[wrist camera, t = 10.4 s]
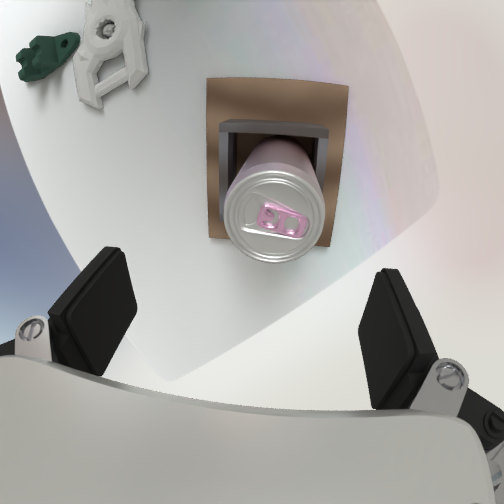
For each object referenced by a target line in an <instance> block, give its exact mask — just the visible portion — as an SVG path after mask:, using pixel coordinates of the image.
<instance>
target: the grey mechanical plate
mask: <svg viewBox="0 0 504 504" xmlns="http://www.w3.org/2000/svg"><path fill="white" fill-rule="evenodd" d="M91 4H92V5H90V4H88V3H86V25H85V27H84V34H83V42H82V43H81V45H80V47H79V48H78V50H77V51H76V53H75V55H74V57H73V58H72V61H73V68H74V74H75V80H76V86H77V91H78V97H79V101H81V102H83V103H85V104H88V105H90V106H92V107H95V108H97V109H101V108H103V104H102V99H101V97H102V96H103V95H105V94H106V93H108V92H110V91H111V90H113V89H115V88H116V87H118V86H120V85H122V84H123V83H125V82H127V81H128V84H129V89H134V88H135V87H136V86H137V85H138V84H139V83H140V82H141V81H142V79H143V78H144V77H145V76H146V75H147V74H148V73H149V72H148V66H147V60H146V53H145V47H144V40H143V39H144V32H145V25H146V21H145V22H143V20H142V21H141V19H140V17H139V15H138V13H137V11H136V9H135V3H134V0H91ZM112 22H113V23H115V24H114V25H113V24H111V23H112ZM111 35H112V37H110V36H111ZM106 36H108V37H110V38H109V39H108V38H107V37H106ZM121 53H123V54H124V61H125V67H123V68H122V69H120V70H118V71H117V72H115V73H114V74H112V75H110V76H109V77H107V78H106V79H104V80H103V81H101V82H100V83H98V77H97V72H98V70H99V69H100V67H101V65H102V64H103V62H104V61H105V60H109V59H112V58H116V57H117V56H119V55H120V54H121Z"/></svg>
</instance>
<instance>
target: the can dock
mask: <svg viewBox="0 0 504 504" xmlns="http://www.w3.org/2000/svg"><path fill="white" fill-rule="evenodd" d="M348 89H349V86H345V85H338V84H331V83H323V82H314V81H304V80H292V79H276V78H207V103H206V139H207V195H208V225H209V238H222V239H230V237H229V235H228V233H227V231H226V228H225V224H224V203H225V198H226V194H227V192H228V190H229V188H230V186H231V184H232V183H233V181H234V179H235V178H236V176H237V174H238V173H239V171H240V170H241V168H242V166H243V165H244V163H245V162H246V160H247V158H248V157H249V155H250V154H251V152H252V150H253V149H254V147H255V146H256V145H257V144H258V143H259V142H260V141H261V140H263V139H264V138H266V137H269V136H272V135H286V136H289V137H292V138H294V139H296V140H297V141H298V142H300V143H301V144H302V146H303V147H304V148H305V150H306V152H307V154H308V157H309V159H310V162H311V164H312V167H313V170H314V172H315V175H316V178H317V181H318V183H319V186H320V189H321V192H322V195H323V198H324V202H325V220H324V226H323V230H322V233H321V235H320V237H319V239H318V241H317V242H316V244H315V245H314V246H324V247H330V242H331V236H332V230H333V224H334V217H335V211H336V204H337V197H338V190H339V182H340V174H341V166H342V157H343V148H344V138H345V128H346V116H347V104H348Z"/></svg>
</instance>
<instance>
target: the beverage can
mask: <svg viewBox="0 0 504 504" xmlns="http://www.w3.org/2000/svg"><path fill="white" fill-rule="evenodd" d="M324 220H325V202H324V198H323V195H322V192H321V189H320V186H319V183H318V181H317V178H316V175H315V172H314V170H313V167H312V164H311V162H310V159H309V157H308V154H307V152H306V150H305V148H304V147H303V146H302V144H301V143H300V142H298V141H297V140H296V139H294V138H292V137H289V136H286V135H272V136H269V137H266V138H264V139H263V140H261V141H260V142H259V143H258V144H257V145H256V146H255V147H254V149H253V150H252V152H251V154H250V155H249V157H248V158H247V160H246V162H245V163H244V165H243V166H242V168H241V170H240V171H239V173H238V174H237V176H236V178H235V179H234V181H233V183H232V184H231V186H230V188H229V190H228V192H227V194H226V198H225V203H224V224H225V228H226V231H227V233H228V235H229V237H230V239H231V241H232V242H233V243H234V245H235V246H236V247H237V248H238V249H239V250H240V251H242V252H243V253H244V254H246V255H247V256H249V257H251V258H253V259H255V260H258V261H262V262H267V263H283V262H288V261H292V260H295V259H297V258H299V257H301V256H303V255H304V254H306V253H307V252H308V251H309V250H310V249H311V248H312V247H313V246H314V245H315V244H316V242H317V241H318V239H319V237H320V235H321V233H322V230H323V226H324Z"/></svg>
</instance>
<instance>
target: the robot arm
mask: <svg viewBox="0 0 504 504" xmlns="http://www.w3.org/2000/svg"><path fill="white" fill-rule="evenodd" d="M136 313H137V303H136V299H135V295H134V291H133V288H132V284H131V279H130V275H129V271H128V267H127V262H126V258H125V254H124V252H122V251H121V249H120V248H118V247H104V248H103V249H102V250H101V251H100V252H99V253H98V254H97V255H96V257H95V258H94V259H93V260H92V261H91V262H90V263H89V264H88V265H87V266H86V267H85V269H84V270H83V271H82V272H81V273H80V274H79V275H78V276H77V278H76V279H75V280H74V281H73V282H72V283H71V284H70V286H69V287H68V288H67V289H66V290H65V291H64V293H63V294H62V295H61V296H60V297H59V299H58V300H57V301H56V302H55V303H54V305H53V306H52V307H51V308H50V310H49V311H48V314H49V316H50V318H49V319H48V321H47V320H46V318H45V317H43V316H31V317H29V318H27V319H25V320H24V321H23V322H22V323H21V324H20V325H19V326H18V328H17V330H16V334H15V339H13V340H11V341H8V342H6V343H3V344H1V345H0V504H504V412H503V411H502V410H501V409H500V408H498V407H497V406H495V405H494V404H492V403H491V402H489V401H487V400H486V399H485V398H483V397H481V396H480V395H479V394H477V393H476V392H474V391H472V390H471V389H469V388H468V384H469V378H468V374H467V372H466V370H465V368H464V367H463V366H462V365H461V364H460V363H458V362H457V361H455V360H452V359H448V358H443V359H439V358H438V355H437V352H436V350H435V347H434V345H433V343H432V340H431V338H430V336H429V333H428V331H427V328H426V326H425V324H424V321H423V319H422V317H421V315H420V312H419V310H418V309H417V307H416V305H415V303H414V301H413V299H412V296H411V294H410V292H409V290H408V288H407V286H406V284H405V282H404V280H403V278H402V276H401V274H400V272H399V271H398V269H388V268H387V269H386V268H383V269H382V270H381V272H377V273H376V275H375V279H374V282H373V285H372V289H371V292H370V295H369V298H368V301H367V304H366V307H365V310H364V313H363V316H362V319H361V322H360V325H359V328H358V336H359V340H360V345H361V351H362V355H363V361H364V365H365V371H366V377H367V382H368V388H369V394H370V400H371V406H372V408H373V409H376V410H360V411H315V410H289V409H288V410H287V409H273V408H261V407H251V406H242V405H233V404H225V403H218V402H211V401H204V400H198V399H192V398H187V397H181V396H176V395H170V394H166V393H161V392H157V391H152V390H148V389H144V388H139V387H135V386H131V385H127V384H123V383H120V382H116V381H112V380H109V379H105V378H102V377H99V376H102V375H103V374H104V372H105V370H106V368H107V366H108V364H109V363H110V360H111V359H112V357H113V355H114V353H115V351H116V349H117V348H118V345H119V344H120V342H121V340H122V338H123V336H124V335H125V333H126V331H127V329H128V327H129V326H130V324H131V322H132V320H133V319H134V317H135V315H136Z"/></svg>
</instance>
